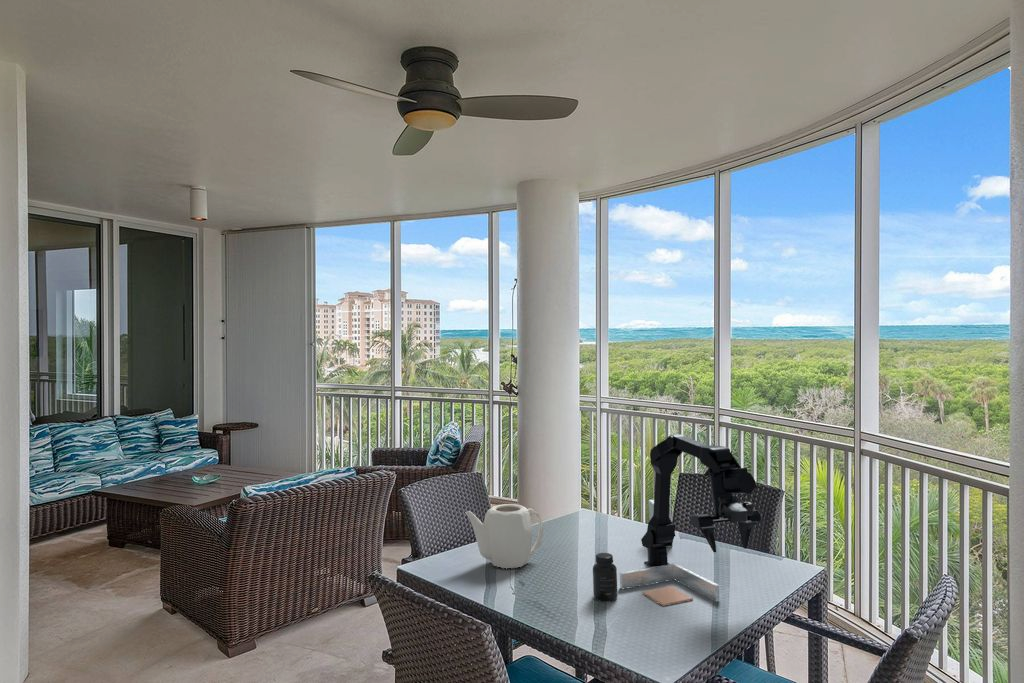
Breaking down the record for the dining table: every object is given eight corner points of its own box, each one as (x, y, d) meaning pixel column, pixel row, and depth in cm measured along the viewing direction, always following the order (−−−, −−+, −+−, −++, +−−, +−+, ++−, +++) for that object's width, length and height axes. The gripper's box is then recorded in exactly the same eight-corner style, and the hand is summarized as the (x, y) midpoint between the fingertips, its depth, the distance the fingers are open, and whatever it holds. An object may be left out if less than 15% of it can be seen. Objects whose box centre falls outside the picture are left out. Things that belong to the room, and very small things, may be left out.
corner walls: (619, 588, 180) (619, 572, 180) (675, 577, 187) (674, 563, 187) (659, 613, 161) (659, 596, 162) (719, 601, 169) (718, 584, 169)
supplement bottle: (591, 593, 176) (590, 551, 177) (614, 592, 177) (613, 550, 177) (596, 603, 169) (595, 559, 170) (620, 601, 170) (619, 558, 170)
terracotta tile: (642, 593, 175) (642, 591, 175) (670, 588, 179) (670, 586, 179) (662, 606, 166) (662, 604, 166) (692, 600, 170) (692, 598, 170)
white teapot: (461, 561, 207) (460, 505, 207) (536, 553, 213) (535, 499, 214) (470, 577, 192) (469, 517, 192) (550, 567, 198) (549, 509, 199)
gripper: (705, 497, 161) (713, 559, 158) (769, 491, 164) (778, 551, 161) (686, 494, 171) (693, 552, 169) (746, 488, 175) (754, 545, 172)
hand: (730, 550), depth 168 cm, fingers open, 9 cm apart
